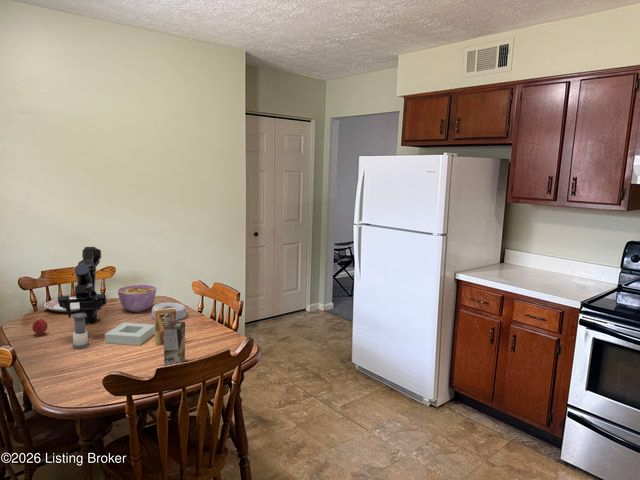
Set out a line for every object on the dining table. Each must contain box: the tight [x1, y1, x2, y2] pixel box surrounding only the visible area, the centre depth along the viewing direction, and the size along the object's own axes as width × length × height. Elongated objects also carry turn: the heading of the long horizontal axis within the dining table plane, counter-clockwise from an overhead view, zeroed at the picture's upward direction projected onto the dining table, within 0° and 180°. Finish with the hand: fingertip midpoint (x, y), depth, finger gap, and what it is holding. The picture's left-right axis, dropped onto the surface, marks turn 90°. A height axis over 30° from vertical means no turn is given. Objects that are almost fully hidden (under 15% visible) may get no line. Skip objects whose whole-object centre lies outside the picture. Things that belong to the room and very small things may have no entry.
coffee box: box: [163, 321, 186, 367], centre depth 176 cm, size 9×6×16 cm
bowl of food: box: [117, 284, 158, 313], centre depth 242 cm, size 20×20×12 cm
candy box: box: [154, 307, 177, 345], centre depth 198 cm, size 9×4×15 cm, turn 116°
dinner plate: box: [43, 296, 81, 313], centre depth 242 cm, size 27×27×3 cm
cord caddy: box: [104, 322, 155, 346], centre depth 202 cm, size 16×16×4 cm
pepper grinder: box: [72, 312, 89, 350], centre depth 190 cm, size 6×6×14 cm
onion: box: [31, 317, 48, 336], centre depth 201 cm, size 6×6×8 cm
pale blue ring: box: [151, 302, 187, 321], centre depth 234 cm, size 18×18×6 cm
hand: (81, 317), depth 193 cm, fingers open, 9 cm apart
